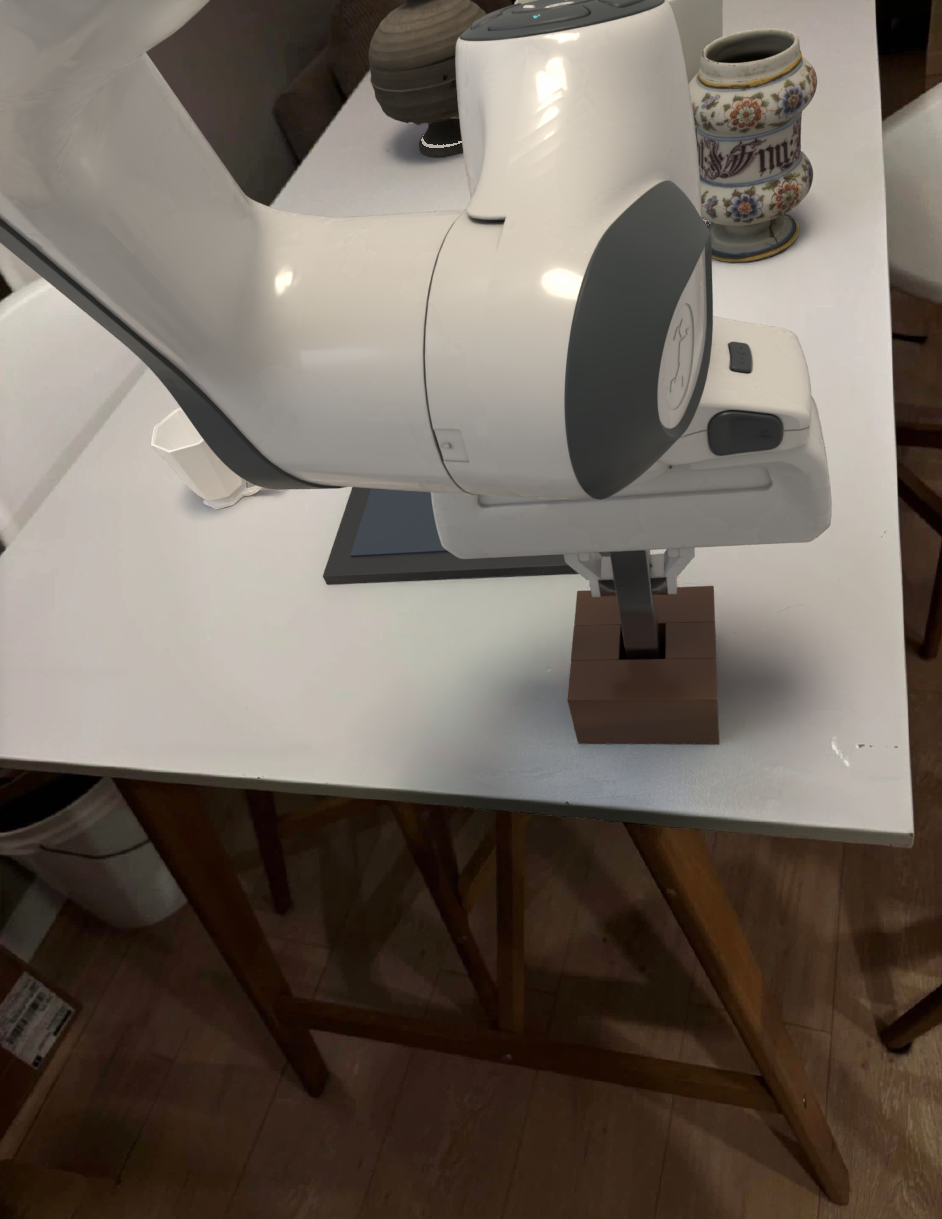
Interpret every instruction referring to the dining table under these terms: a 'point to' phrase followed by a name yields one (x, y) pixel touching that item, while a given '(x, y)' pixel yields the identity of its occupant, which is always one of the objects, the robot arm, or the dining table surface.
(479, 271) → the robot arm
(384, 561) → the drawing tablet
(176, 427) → the cup
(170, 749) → the dining table surface
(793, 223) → the apothecary jar
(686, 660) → the brown block with hole
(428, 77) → the pot
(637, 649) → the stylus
